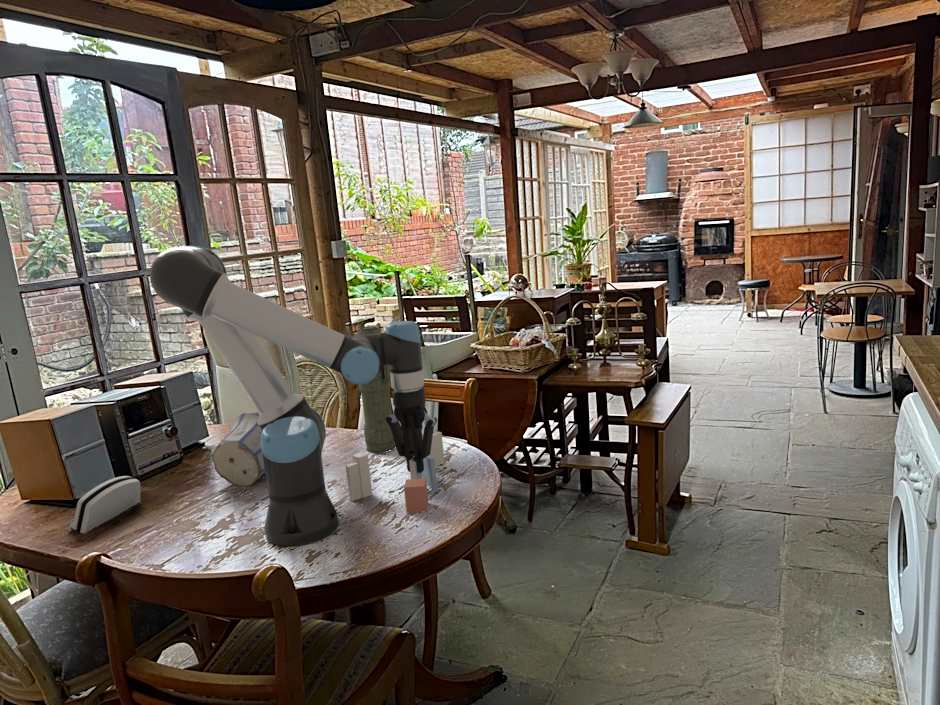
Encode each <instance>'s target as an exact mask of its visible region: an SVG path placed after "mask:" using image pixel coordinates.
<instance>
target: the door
mask: <svg viewBox="0 0 940 705" xmlns="http://www.w3.org/2000/svg"><path fill="white" fill-rule="evenodd" d="M423 462H424V471H423V472H422V478H426V482H427V486H429V487H430V489H431V491H432V492H433V493H435V492H436V493H437V492H438V491H439V488H438V487H439V486H438V479H437V468H436V466H435V460H434V459H433V458H432V457H431V456H430V455H429V456H427V457H426V458H424V459H423Z"/></svg>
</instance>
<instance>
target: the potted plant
mask: <svg viewBox="0 0 940 705" xmlns="http://www.w3.org/2000/svg"><path fill="white" fill-rule="evenodd" d="M258 419H259V412H258V411H251V412H250V411H243V412H241V413H240V414H239V415H238V416H237V417H236V418H235V419H234V421H232V423H231V425H229V426H230V427H229V434H227V436H225V437H224V438H223V439H222V440H221V441H220V442H219V443H218V444H217V446H216V447H215V449H214V450H213V452H212V454H211V459H212V463H213V467H214V471H215V472H216V473H217V474H218V475H219V476H220V478H221V479H224V480H225V481H226V482H228V483H230V484H232V485H234V486H236V487H249V486H252V485H253V484H254V483H255V482H256V481H258V480H259V479H260V478H261V477H262V476H263V475H265V467H264V461H263V454H262V451H261V447H260V443H261V432H262V429H261V428H260V426H259V425H258Z"/></svg>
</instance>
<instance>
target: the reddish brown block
mask: <svg viewBox="0 0 940 705" xmlns="http://www.w3.org/2000/svg"><path fill="white" fill-rule="evenodd" d="M403 491H404V500H405V501H404V502H405V509H406V510H405V511H406V514H410V513H411V512H414V513H423V512H422V511H427V512H428V509H429V508H428V507H429V503H428V502H429V495H428V484H427V482H426V478H423V477H422V479H411V478H410V479H409V478H408V479H405V482H404V486H403ZM427 508H428V509H427ZM411 514H412V513H411Z"/></svg>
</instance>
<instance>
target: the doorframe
mask: <svg viewBox="0 0 940 705" xmlns="http://www.w3.org/2000/svg"><path fill="white" fill-rule="evenodd" d="M423 433H424V429H422V439H423ZM430 456H431V457H432V458H433V459H434V460H435V466H437V467H439V466H438V465H440V464H442V463H444V462H445V454H444V443H443V433H442V432H441V431H436V432H433V437H432V445H431V452H430ZM352 462H353V463H350V464H347V465H345V471H346V480H347V488H348V495H349V497H348V498H349V501H351V502H354V501H357V500H360V499H365V498H367V497H370V496H372V495H373V489H372V480H371V479H372V478H371V473H370V472H371V471H370V463H369V455H368V454H366V453H364V452H359V453H357V454H354V455H352ZM444 464H445V463H444ZM442 465H443V464H442ZM440 466H441V465H440Z"/></svg>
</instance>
